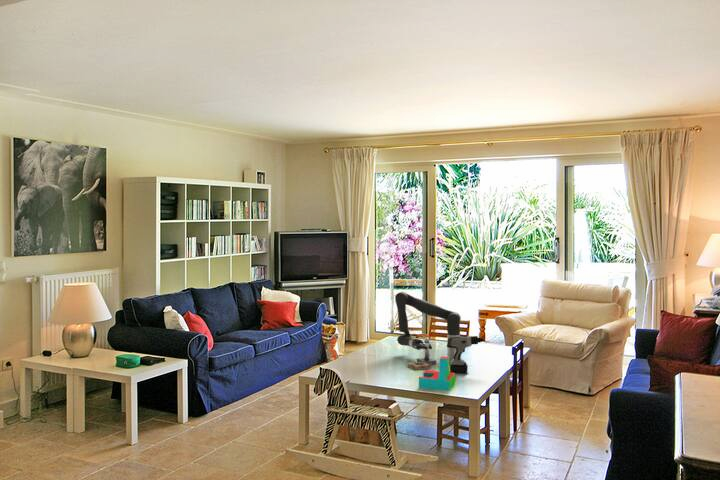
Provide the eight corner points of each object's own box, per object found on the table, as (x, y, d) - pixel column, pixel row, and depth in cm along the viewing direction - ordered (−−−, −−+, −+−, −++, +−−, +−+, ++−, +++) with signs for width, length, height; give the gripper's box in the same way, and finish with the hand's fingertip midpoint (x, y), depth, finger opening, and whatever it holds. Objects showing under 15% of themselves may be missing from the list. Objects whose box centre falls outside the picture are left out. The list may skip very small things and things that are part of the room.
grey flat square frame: (428, 360, 443) (428, 357, 443) (436, 363, 434) (436, 360, 434) (416, 362, 438) (416, 358, 438) (424, 365, 429) (424, 361, 429)
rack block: (422, 365, 430) (422, 361, 430) (430, 368, 421) (430, 364, 421) (408, 366, 424) (408, 363, 424) (415, 370, 415) (415, 366, 415)
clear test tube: (427, 359, 438) (427, 336, 438) (430, 360, 435) (430, 337, 435) (423, 359, 437) (423, 337, 436) (426, 360, 434) (426, 338, 433)
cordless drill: (483, 375, 403) (483, 337, 402) (446, 372, 408) (446, 335, 407) (483, 372, 411) (483, 335, 410) (446, 370, 416) (447, 333, 415)
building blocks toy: (456, 380, 390) (456, 352, 389) (449, 391, 366) (449, 361, 365) (427, 378, 396) (427, 350, 395) (418, 388, 372) (418, 358, 371)
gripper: (407, 339, 445) (420, 343, 430) (424, 337, 451) (437, 341, 436) (407, 349, 445) (420, 354, 430) (424, 347, 452) (437, 352, 436)
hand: (429, 348), depth 433 cm, fingers closed on clear test tube, 3 cm apart
